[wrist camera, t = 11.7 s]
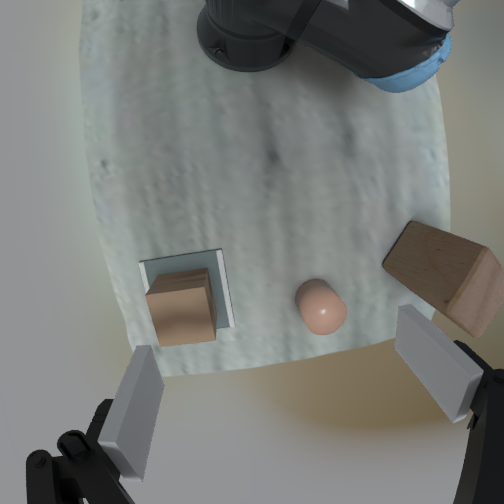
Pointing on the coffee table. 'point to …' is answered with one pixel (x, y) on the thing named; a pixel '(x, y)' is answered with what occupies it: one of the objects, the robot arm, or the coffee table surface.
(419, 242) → the wooden block
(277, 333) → the coffee table surface
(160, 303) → the cube
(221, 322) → the mat
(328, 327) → the pink cylinder
